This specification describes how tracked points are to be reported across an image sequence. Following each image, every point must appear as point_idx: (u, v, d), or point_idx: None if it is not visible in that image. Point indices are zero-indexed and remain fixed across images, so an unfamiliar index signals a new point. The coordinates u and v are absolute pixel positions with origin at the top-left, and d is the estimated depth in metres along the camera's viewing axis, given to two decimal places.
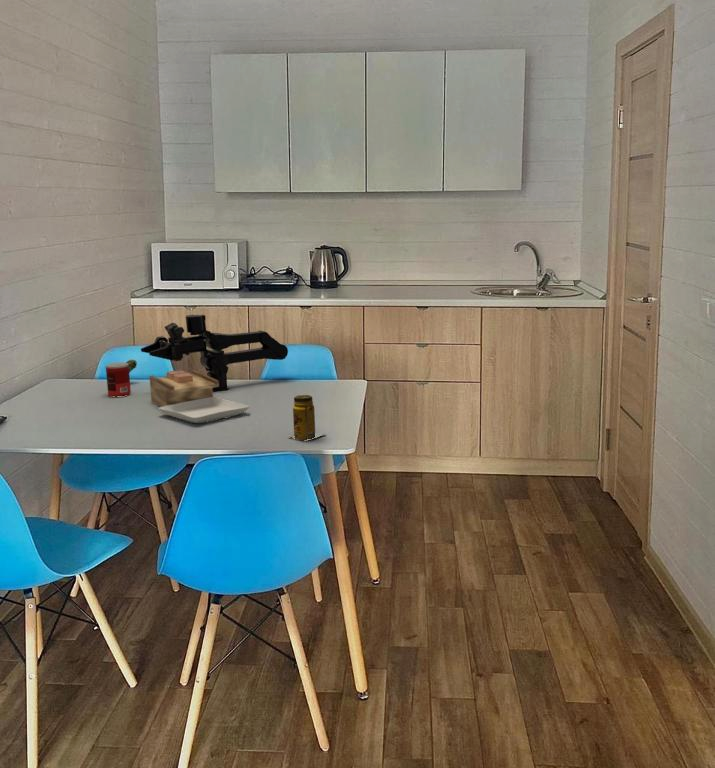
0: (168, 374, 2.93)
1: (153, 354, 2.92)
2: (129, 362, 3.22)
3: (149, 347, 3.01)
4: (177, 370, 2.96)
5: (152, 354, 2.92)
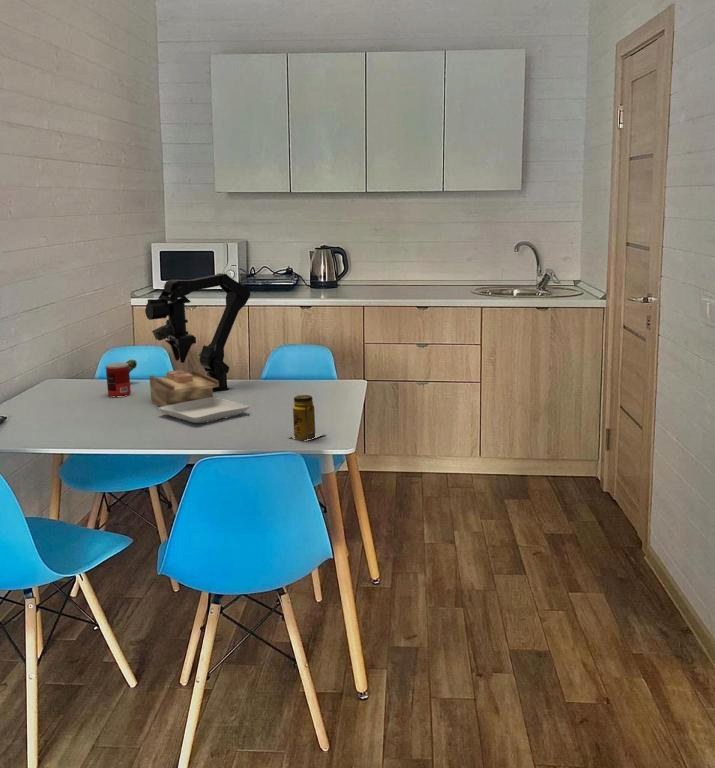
0: (168, 374, 2.93)
1: (183, 359, 2.98)
2: (129, 362, 3.22)
3: (175, 352, 3.02)
4: (177, 370, 2.96)
5: (183, 359, 2.98)
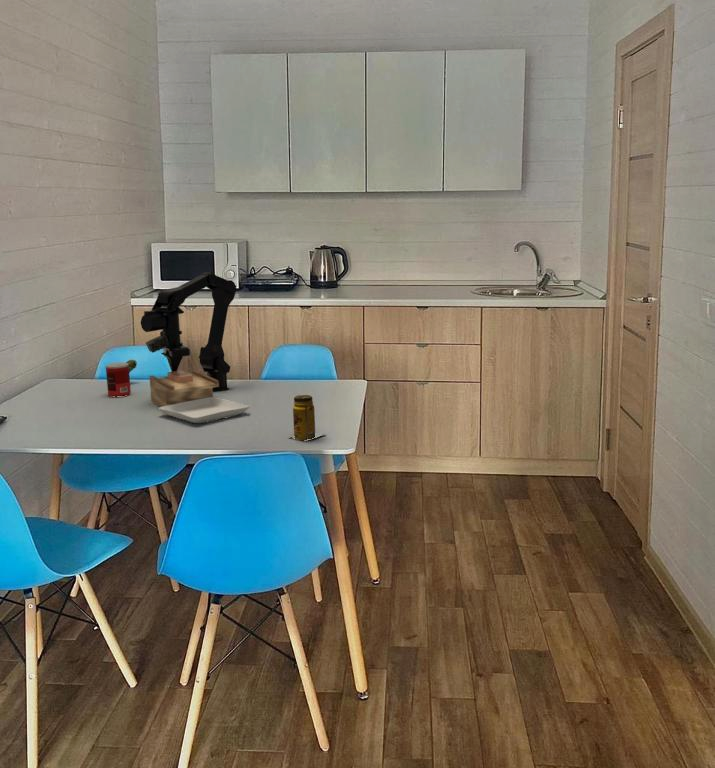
0: (169, 375, 2.92)
1: (175, 370, 2.94)
2: (129, 362, 3.22)
3: None
4: (178, 371, 2.94)
5: (175, 370, 2.95)
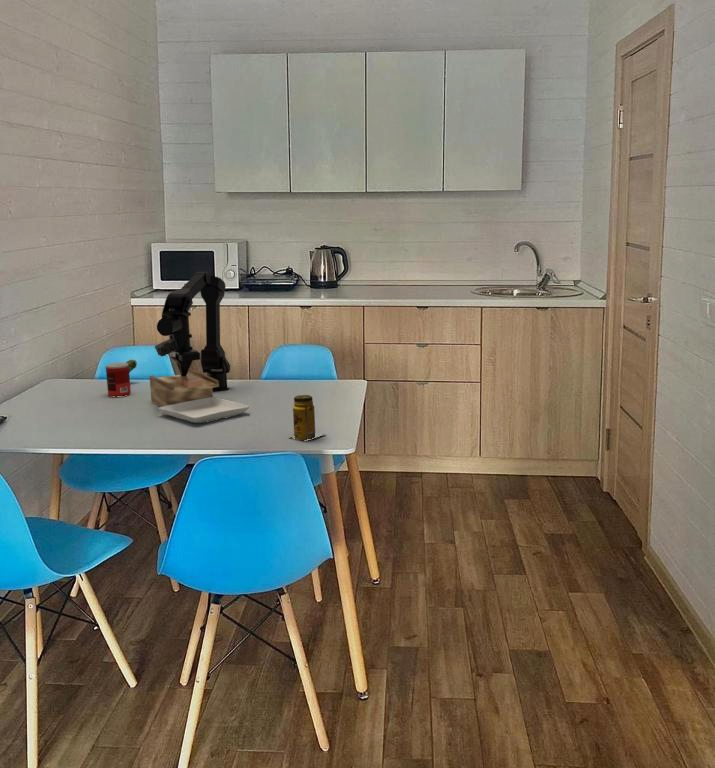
0: (178, 379, 2.83)
1: (185, 374, 2.86)
2: (129, 362, 3.22)
3: None
4: (187, 375, 2.86)
5: (185, 375, 2.87)
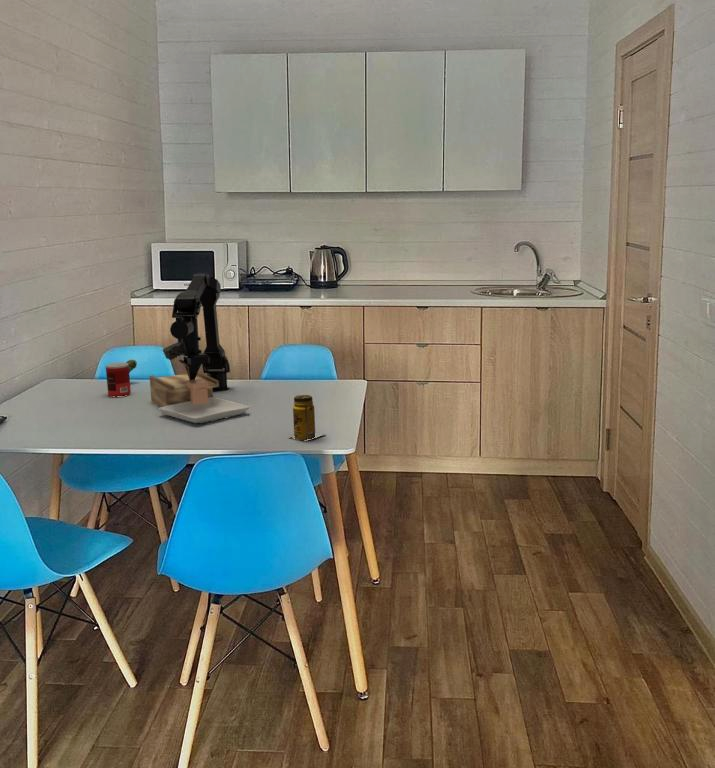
0: (188, 384, 2.77)
1: (193, 378, 2.80)
2: (129, 362, 3.22)
3: None
4: (196, 379, 2.80)
5: (193, 378, 2.80)
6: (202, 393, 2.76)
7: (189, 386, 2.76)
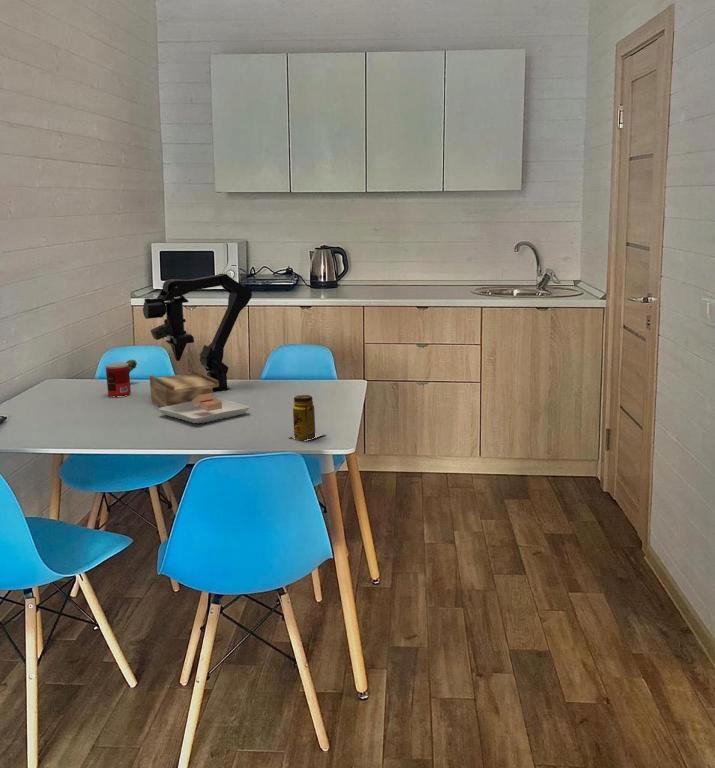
0: (194, 400, 2.73)
1: (179, 357, 3.02)
2: (129, 362, 3.22)
3: None
4: None
5: (179, 358, 3.02)
6: None
7: (195, 402, 2.73)
